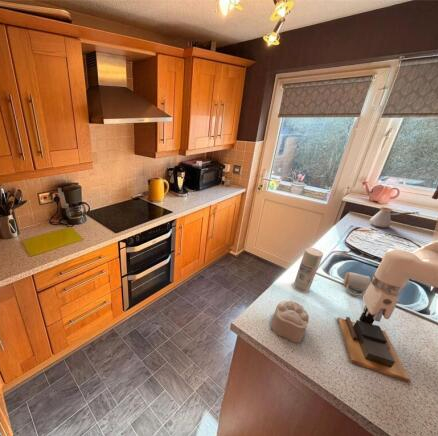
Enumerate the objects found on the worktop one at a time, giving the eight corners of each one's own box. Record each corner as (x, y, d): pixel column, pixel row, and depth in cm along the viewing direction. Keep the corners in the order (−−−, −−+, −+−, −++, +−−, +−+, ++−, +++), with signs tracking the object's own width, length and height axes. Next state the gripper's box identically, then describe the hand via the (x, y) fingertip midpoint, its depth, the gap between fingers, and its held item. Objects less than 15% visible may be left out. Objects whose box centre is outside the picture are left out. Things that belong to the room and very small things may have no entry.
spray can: (312, 289, 107) (326, 253, 98) (304, 294, 104) (318, 257, 95) (297, 281, 112) (309, 246, 103) (290, 286, 109) (302, 250, 100)
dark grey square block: (375, 334, 84) (379, 326, 82) (382, 349, 78) (387, 341, 77) (352, 327, 86) (356, 319, 85) (358, 341, 81) (362, 333, 79)
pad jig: (383, 333, 86) (388, 325, 84) (408, 381, 70) (415, 373, 68) (337, 319, 91) (341, 311, 89) (351, 362, 76) (355, 353, 74)
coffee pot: (367, 225, 168) (375, 206, 161) (369, 220, 175) (377, 202, 168) (409, 235, 154) (420, 215, 147) (409, 230, 161) (420, 210, 154)
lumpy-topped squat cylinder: (269, 330, 86) (274, 313, 83) (275, 308, 96) (280, 292, 92) (301, 345, 81) (309, 328, 77) (304, 320, 91) (311, 304, 87)
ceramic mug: (341, 280, 112) (347, 267, 109) (363, 287, 108) (370, 274, 105) (342, 292, 105) (348, 279, 101) (366, 300, 100) (373, 287, 97)
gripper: (412, 302, 70) (385, 343, 78) (392, 274, 82) (371, 312, 90) (380, 294, 73) (357, 334, 81) (365, 268, 85) (347, 305, 93)
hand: (364, 322), depth 85 cm, fingers closed
